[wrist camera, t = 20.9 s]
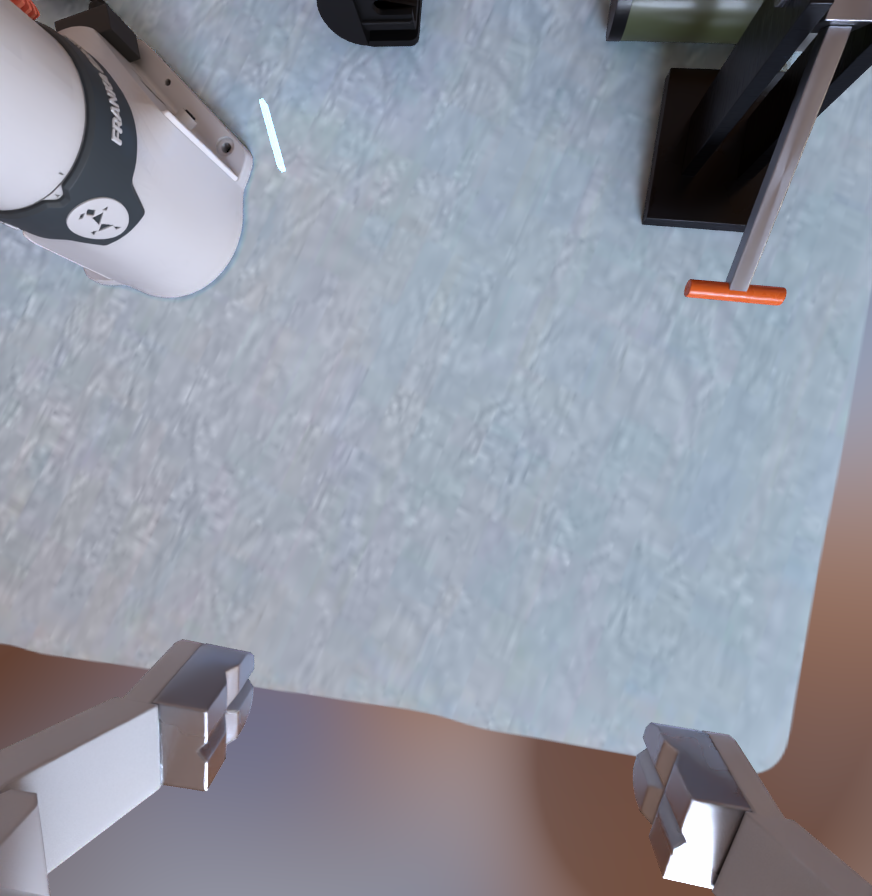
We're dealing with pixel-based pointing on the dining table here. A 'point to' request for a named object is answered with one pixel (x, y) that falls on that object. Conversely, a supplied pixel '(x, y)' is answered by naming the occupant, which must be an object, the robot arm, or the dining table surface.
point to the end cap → (373, 21)
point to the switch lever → (787, 157)
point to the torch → (683, 21)
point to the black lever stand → (737, 118)
